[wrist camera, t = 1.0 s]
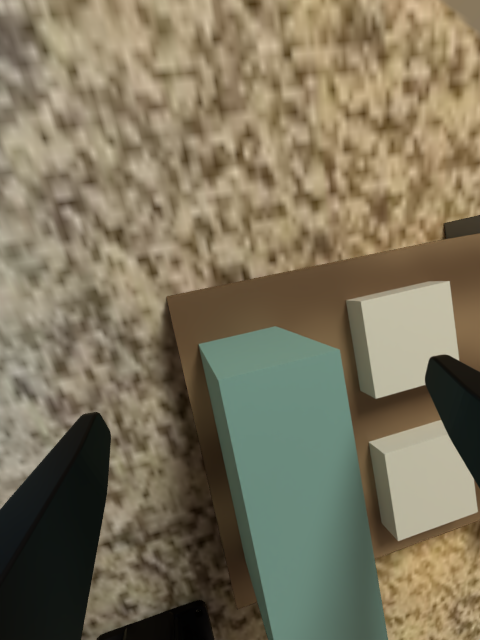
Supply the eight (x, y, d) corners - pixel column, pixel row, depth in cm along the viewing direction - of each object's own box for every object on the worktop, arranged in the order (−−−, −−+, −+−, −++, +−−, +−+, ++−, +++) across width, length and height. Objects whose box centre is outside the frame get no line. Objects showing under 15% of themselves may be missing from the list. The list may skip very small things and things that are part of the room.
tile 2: (456, 496, 22) (477, 512, 20) (381, 523, 21) (398, 541, 19) (446, 418, 21) (467, 427, 20) (368, 441, 20) (384, 454, 19)
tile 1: (440, 368, 21) (461, 374, 19) (360, 390, 20) (375, 398, 18) (428, 281, 20) (449, 281, 19) (345, 300, 19) (360, 301, 18)
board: (475, 481, 26) (515, 506, 23) (227, 567, 22) (237, 609, 19) (446, 238, 23) (486, 232, 20) (166, 296, 20) (166, 298, 17)
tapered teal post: (315, 537, 20) (392, 668, 13) (245, 561, 19) (289, 712, 13) (275, 326, 18) (339, 349, 12) (198, 344, 18) (218, 380, 11)
